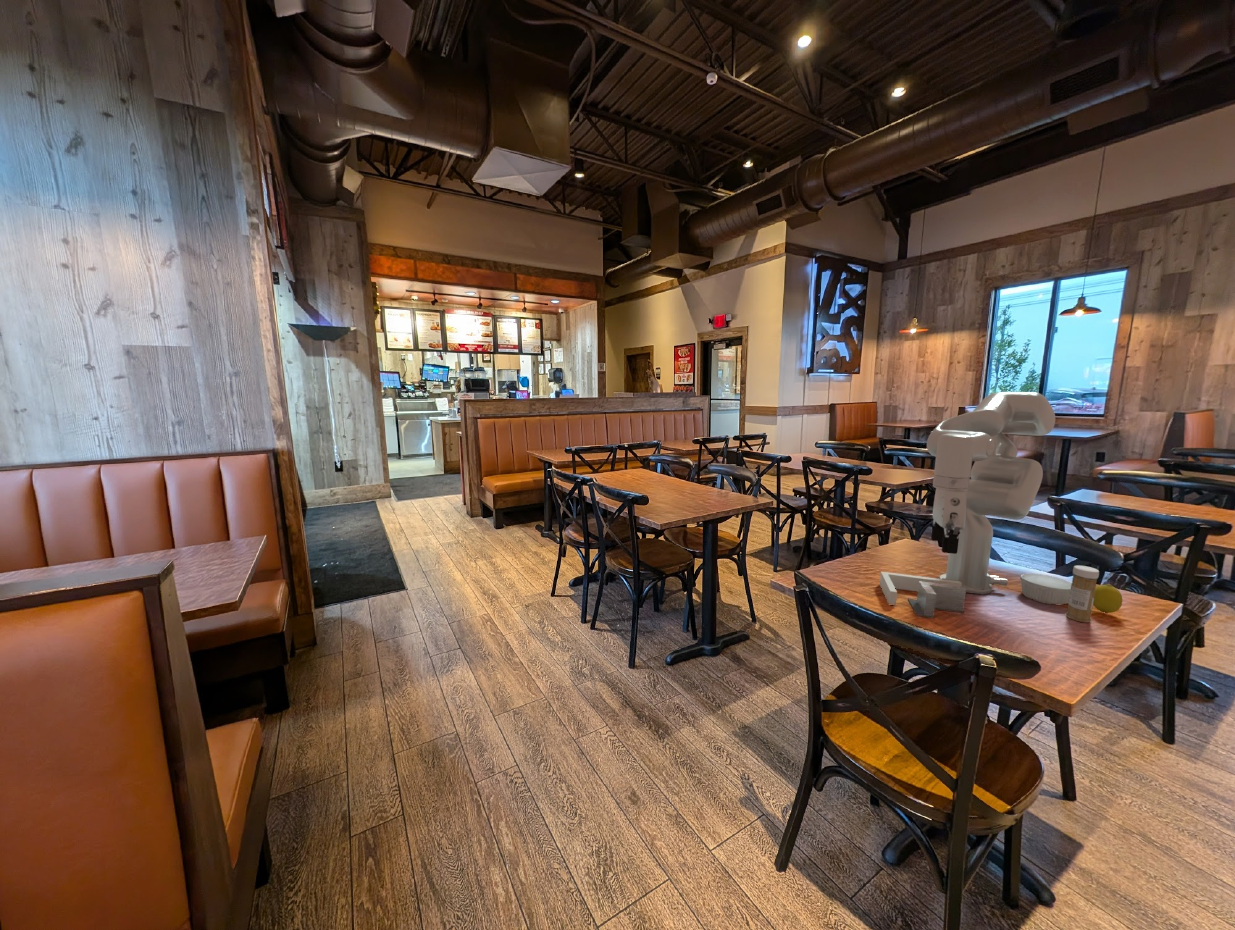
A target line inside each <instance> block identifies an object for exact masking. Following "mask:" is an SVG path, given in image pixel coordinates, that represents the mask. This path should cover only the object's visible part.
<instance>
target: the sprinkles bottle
mask: <svg viewBox="0 0 1235 930" xmlns="http://www.w3.org/2000/svg"><path fill="white" fill-rule="evenodd" d="M1099 576H1100V571H1099V569H1097V568H1094V567H1090V566H1086V565H1074V566H1073V569H1072V580H1071V583H1072V584H1071V590H1070V595H1069V601H1068V603H1067V605H1068V606H1067V610H1066V611H1067V612H1066V613H1065V616H1066V617H1067V618H1069V619H1071V620H1073V621H1076V622H1079V623H1090V622H1091V620H1092V619H1091V616H1092V612H1093V611H1092V610H1093V607H1094V605H1093V602H1094V594H1095V588H1096V587H1097V580H1098V578H1099Z"/></svg>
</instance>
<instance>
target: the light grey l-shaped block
mask: <svg viewBox="0 0 1235 930" xmlns="http://www.w3.org/2000/svg"><path fill="white" fill-rule="evenodd" d="M919 581H923V582H931V583H939V584H947V585H954V586H961V585H962V583H961V582H960V581H953V580H945V579H939V578H935V577H927V576H920V575H910V574H905V573H904V574H903V573H897V572H896V573H894V572H887V571H880V576H879V586H880V588H882V589H881V591H882V593H883V596H884V595H885V596H884V598H885V599H887V600H886V602H887V601H888V602H887V604H888V603H889V604H892V605H895V606H894V607H897V600H898V599H897V597H898V591H897V590H904V591H911V592H918V586H919ZM895 588H896V589H895ZM889 604H888V605H889Z"/></svg>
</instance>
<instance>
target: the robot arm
mask: <svg viewBox="0 0 1235 930" xmlns="http://www.w3.org/2000/svg"><path fill="white" fill-rule="evenodd" d="M1055 424H1056V414H1055V410H1054V408H1053V407H1052V405H1051V403H1050V402H1049V400H1048V398H1046V396H1045V395H1043V394H1042V393H1039V392H1035V391H1031V392H1030V391H1029V392H1028V391H999V392H998V391H997V392H993V393H990V394H988V395H987V396H985V397H984V398H983V399H982V400H981V401H980V402H979V404H978V405H977V406H976V407H975V408H974V409H973V411H969V412H965V413H963V414H960V415H956V416H953V417H949V418H946V419H944V420H943V421H940V423H938V424H937V426H935V428H933V430H932V431H931V432H930V434H929V435H928V438H927V441H926V449H927V452H928V453H929V454H930V455H931V456H932V457H935V463H934V471H933V479H932V487H933V488H935V494H934V499H933V507H932V519H933V521H932V529H931V537H930V539H931V541H932V542H933V541H934V542H936V541H937V542H942V544H941V545H942V546H941V552H942V553H945V554H948V557H947V558H948V559H947V566H946V573H943V574H941V575H939V578H938V579H945V580H953V581H960V582H961V583H962V585H961V586H962V587H964V588H965V589H966V593H970V594H975V595H986V594H990V593H991V592H993V586H994V585H998V586H1004V587H1006V586H1008V579H1007V578H999V575H991V574H989V573H988V572H989V565H990V558H991V550H992V543H993V537H994V529H993V526H992V524H991V522H990V520H989V519H988V518H987V516H991V517H996V518H997V517H998V518H1001V519H1008V520H1012V521H1013V520H1016V521H1018V520H1020V521H1021V520H1022V519H1025V518H1026V517H1027V515H1028V514H1029V512H1030V510H1031V508H1032V506H1033V503H1034V501H1035V499H1036V496H1037V494H1038V491H1039V489H1040V488H1041V483H1042V481H1043V477H1044V475H1043V474H1044V471H1043V466H1042V465H1041V463H1040V462H1039V461H1037V460H1035V459H1031V458H1024V457H1017V456H1018V453H1019V452H1018V448H1017V446H1016V445H1015V444H1014V442H1013V441H1012V440H1011V439H1010V438H1009V437H1007V435H1019V436H1035V437H1036V436H1037V437H1038V436H1039V437H1040V436H1046V435H1049V434H1050V433H1051V432H1052V431H1053V430H1054V427H1055ZM973 462H974V463H973ZM972 464H973V465H972Z"/></svg>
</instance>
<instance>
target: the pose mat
mask: <svg viewBox="0 0 1235 930" xmlns="http://www.w3.org/2000/svg"><path fill="white" fill-rule="evenodd" d="M907 600H908V602H909V605H910V606H911V608H912V609H913V612H914V613H915V615H916V616H917V617H924V618H929V619H930V618H931V619H936V616H935V615H934V616H926V615H924V614H923V612H922V611H921V609H920V607H919V605H918V604H917V598H915V599H913V598H907ZM934 610H939V611H946V612H952V613H960V614H965V613H966V611H965V609H963V611H956V610H949V609H942V608H934Z"/></svg>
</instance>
